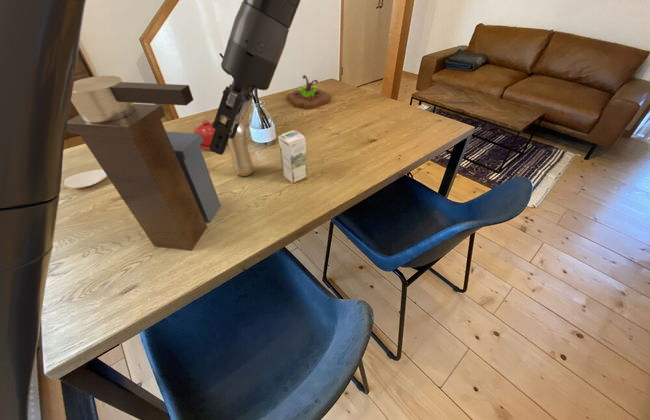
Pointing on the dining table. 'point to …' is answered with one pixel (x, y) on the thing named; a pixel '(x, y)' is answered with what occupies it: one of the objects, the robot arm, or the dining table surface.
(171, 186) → the tall stand
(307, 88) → the plant
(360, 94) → the dining table surface
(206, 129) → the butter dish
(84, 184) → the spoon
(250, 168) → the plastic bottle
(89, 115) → the milk pan
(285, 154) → the syrup box
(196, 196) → the blue-grey block
